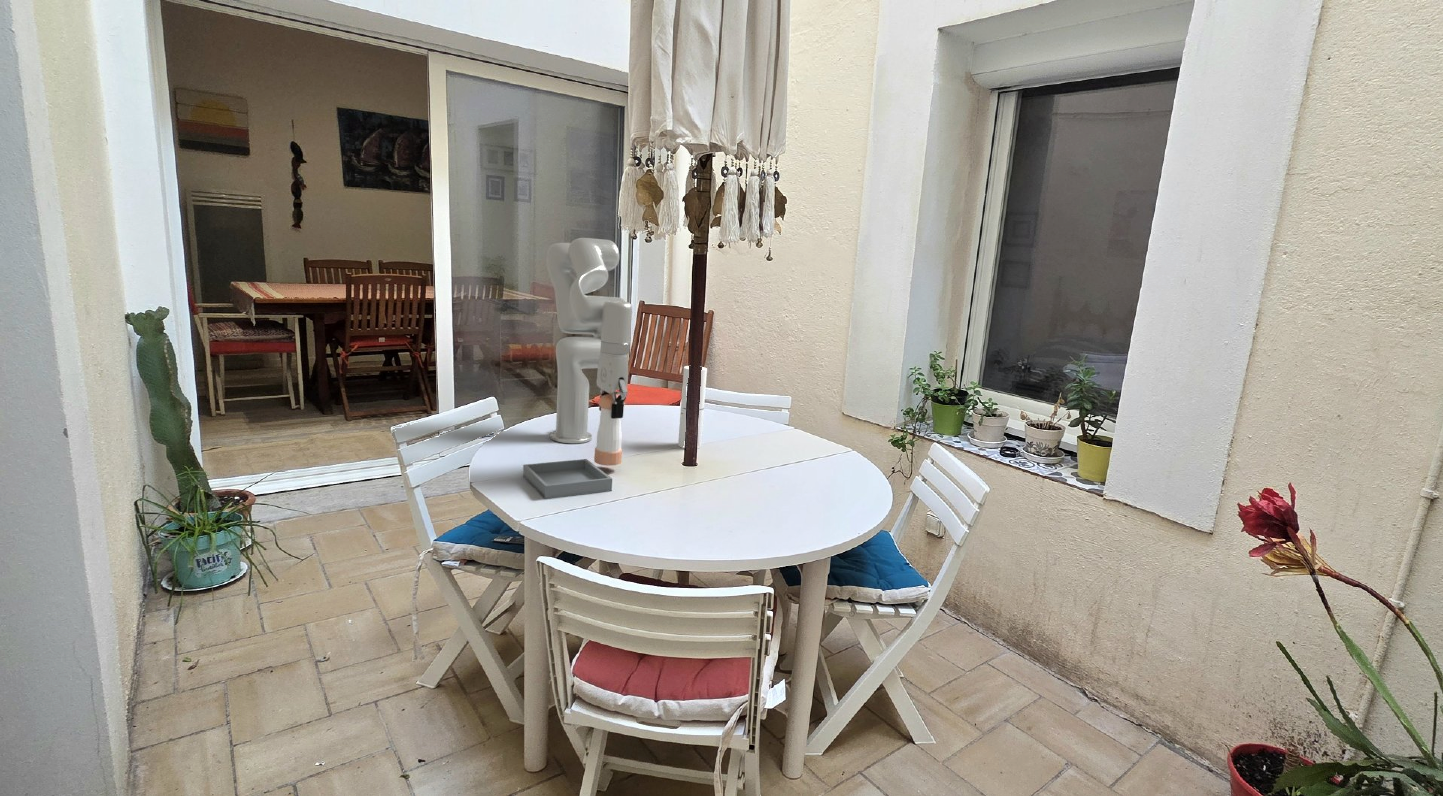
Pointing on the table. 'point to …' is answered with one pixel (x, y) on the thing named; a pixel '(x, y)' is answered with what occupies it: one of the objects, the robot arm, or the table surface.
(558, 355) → the robot arm
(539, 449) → the table surface
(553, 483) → the tray
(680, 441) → the cylindrical container
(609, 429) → the pepper shaker
